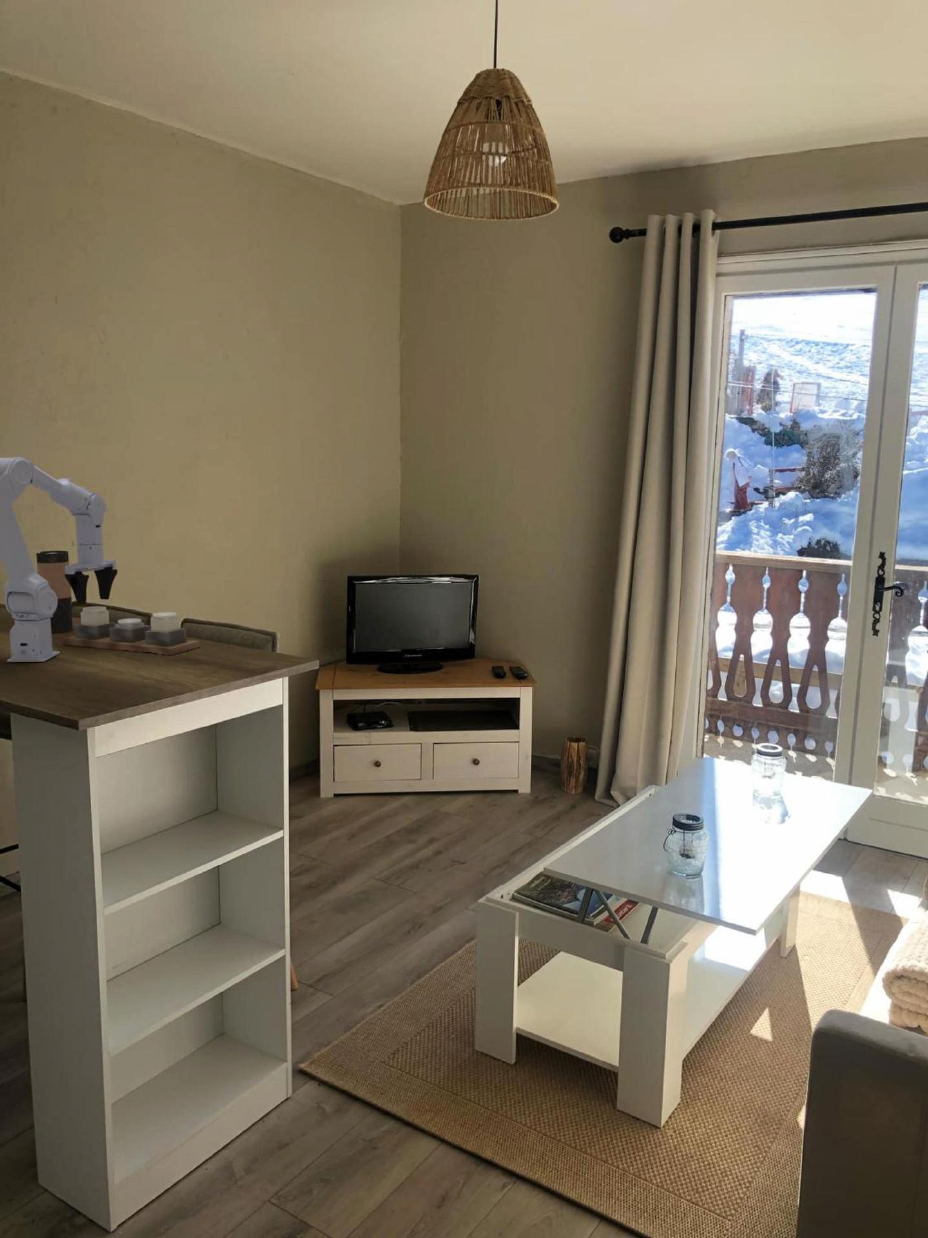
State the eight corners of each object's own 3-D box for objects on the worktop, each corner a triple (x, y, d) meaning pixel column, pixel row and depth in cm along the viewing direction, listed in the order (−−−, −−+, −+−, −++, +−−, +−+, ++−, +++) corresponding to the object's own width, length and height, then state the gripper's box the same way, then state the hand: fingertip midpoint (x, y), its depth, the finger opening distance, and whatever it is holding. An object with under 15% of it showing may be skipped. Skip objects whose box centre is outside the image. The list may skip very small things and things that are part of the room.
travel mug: (79, 630, 257) (74, 551, 254) (49, 634, 252) (44, 554, 249) (65, 626, 263) (60, 549, 259) (36, 630, 257) (30, 552, 254)
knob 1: (111, 625, 242) (110, 607, 241) (95, 628, 237) (94, 610, 236) (95, 623, 244) (94, 605, 243) (78, 626, 239) (77, 608, 238)
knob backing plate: (199, 647, 235) (199, 628, 234) (171, 655, 226) (170, 635, 225) (94, 637, 248) (93, 619, 247) (63, 644, 239) (61, 625, 238)
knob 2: (146, 637, 238) (145, 619, 237) (131, 641, 233) (130, 622, 232) (129, 635, 240) (128, 617, 239) (113, 639, 235) (112, 621, 235)
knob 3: (182, 631, 233) (181, 612, 233) (167, 635, 229) (166, 616, 228) (164, 629, 235) (163, 611, 235) (148, 633, 231) (147, 614, 230)
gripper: (80, 547, 229) (84, 606, 232) (124, 542, 243) (127, 598, 245) (56, 546, 232) (60, 604, 234) (101, 541, 245) (104, 596, 247)
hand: (93, 601), depth 240 cm, fingers open, 7 cm apart
